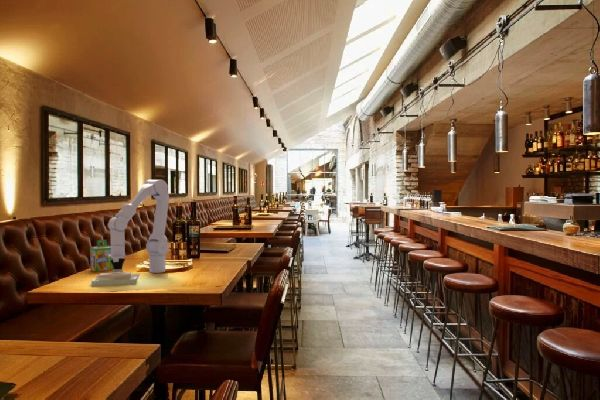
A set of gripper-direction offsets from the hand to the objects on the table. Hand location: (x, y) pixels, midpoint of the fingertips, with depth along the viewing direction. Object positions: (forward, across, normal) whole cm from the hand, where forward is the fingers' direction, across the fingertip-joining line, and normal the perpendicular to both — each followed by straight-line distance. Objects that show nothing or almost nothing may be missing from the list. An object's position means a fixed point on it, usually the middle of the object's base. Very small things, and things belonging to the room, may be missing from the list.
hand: (118, 275), depth 207 cm
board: (+2, +3, 0) cm, 4 cm away
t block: (+1, +7, 0) cm, 7 cm away
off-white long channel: (+1, +12, 0) cm, 12 cm away
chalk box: (+2, -26, -10) cm, 27 cm away
